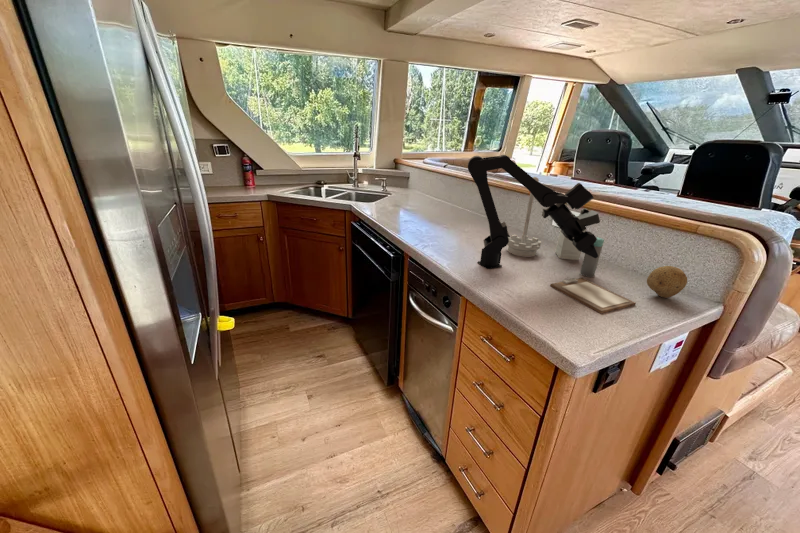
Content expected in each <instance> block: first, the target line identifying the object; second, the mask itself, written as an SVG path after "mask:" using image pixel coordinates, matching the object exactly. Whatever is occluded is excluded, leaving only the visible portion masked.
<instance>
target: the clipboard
mask: <svg viewBox="0 0 800 533" xmlns="http://www.w3.org/2000/svg"><path fill="white" fill-rule="evenodd" d="M549 287H551V288H553V289H555V290H557V291H558V292H560V293H563V294H564V295H566V296H568V297H569V298H572V299H573V300H575V301H577V302H579V303H581V304H582V305H585V306H586V307H587V308H590V309H591V310H594V311H595V312H597V313H599V314H605V313H610V312H612V311H617V310H621V309H624V308H630V307H633V306H636V302H635V301H633V300H631V299H629V298H627V297H624V296H622V295H620V294H618V293H616V292H614V291H611V290H609V289H608V288H605V287H603V286H601V285H598V284H597V283H594V282H592V281H590V280H588V279H586V278H583V277H580V278H570V279H565V280H562V281H559V282H558V281H557V282H552V283H550V285H549Z"/></svg>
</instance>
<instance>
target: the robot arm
mask: <svg viewBox="0 0 800 533" xmlns="http://www.w3.org/2000/svg"><path fill="white" fill-rule="evenodd" d="M467 169H468V172H469V174H470V176H471V177H472V180H473V181H474V183H475V185H476V187H477V191H478V193H479V195H480V196H479V197H480V199H481V202H482V206H483V209H484V211H485V215H486V219H487V222H488V229H489V230H488V231H489V235H488V236H487V237H485V238H484V239H483V245H484V246H483V248H481V254H480V260H478V261H477V262H476V263H477V264H478V265H480V266H482V267H483V268H485V269H487V270H491V269H497V268H502V267H503V265H502V264H501V260H502V249H504V248H505V247H507V246H508V245H507V244H508V242H509V239H508V237H510V238H511V235H510V233H509V231H508V226H507V223H506V222H505V221H503V222H501V220H500V219H499V215H498V211H497V208H496V206H495V201H494V199H493V195H492V192H491V189H490V185H489V180H488V171H494V170H500V169H502V170H504V171H505V172H506V173H508V174H509V175H510V176H511V177H512V178H514V179H515V180H516V181H517V182H518V183H519V184H521V185H522V186H524V188H525V189H527V191H528V192H529V194H530V193H531V194H532V195H533V197H534V198H533V199H535V201H536V202H537V203H538V204H539V205H541V206H542V207H544V208H542V214H541V217H543V219H547V217H549V216H550V218H551V219H552V220H553V221H554V223H555V224H556V226H557V227H558V228H559V230H560V229H561V233H562V234H563V235H564V236H565V237H566V238H567V239H568V240H570V241H572V242H573V243H572V244H573V245H574V246H575V247H576V249H577V250H578V251H581V253H583V254H584V255H585V254H587V255H589V256H592V257H594V258H597V257H598V254H597V252H596V249H595V247H594V243H595V242H596V240H597V238H596V237H597V236H595V234H594V233H593V232H591V231H588V228H587V227H590V226H592V225H597V224H600V223H601V221H600V220H601V219H600V216H599V213H598V211H596V210H589V209H588V208H586V207H585V208H583V207H584V206H585V205H586V204H588V203H589V202H591V201H592V200H594V199H595V198H594V196H593V194H592V192H591V191H589V190H588V189H587V188H586V186H583V184H582V183H580V182H577V183H576V184H574V186H573V187H571V188H570V189H569V190H568V191H566V192H565V193H563V192H561V191H559V192H558V191H555V189H552V188H551V187H549V186H547V185H545V184H544V183H541V182H540V181H539V182H538V181H536V180H535V179H534V178H533V177H532V176H531V175H530V174H529V173H527V171H525V170H524V169H523V168H522V167H520V166H519V165H518V164H517V163H515V162H514V161H513V160H512V159H511V158H510V157H509V155H507V154H500V155H496V156H495V155H494V156H488V157H487V156H486V157H483V156H480V155H474V156H472V157H470V158H469V159H468V162H467ZM567 205H568V206H567ZM569 208H570V209H571V210H579V209H581V208H583V209H581V210H580V213H579V214H578V215H577V216H576V215H575V214H574V213H573V212H572V211H571V210H570V209H569ZM585 229H587V230H586V231H585V232H583V231H584V230H585Z"/></svg>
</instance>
